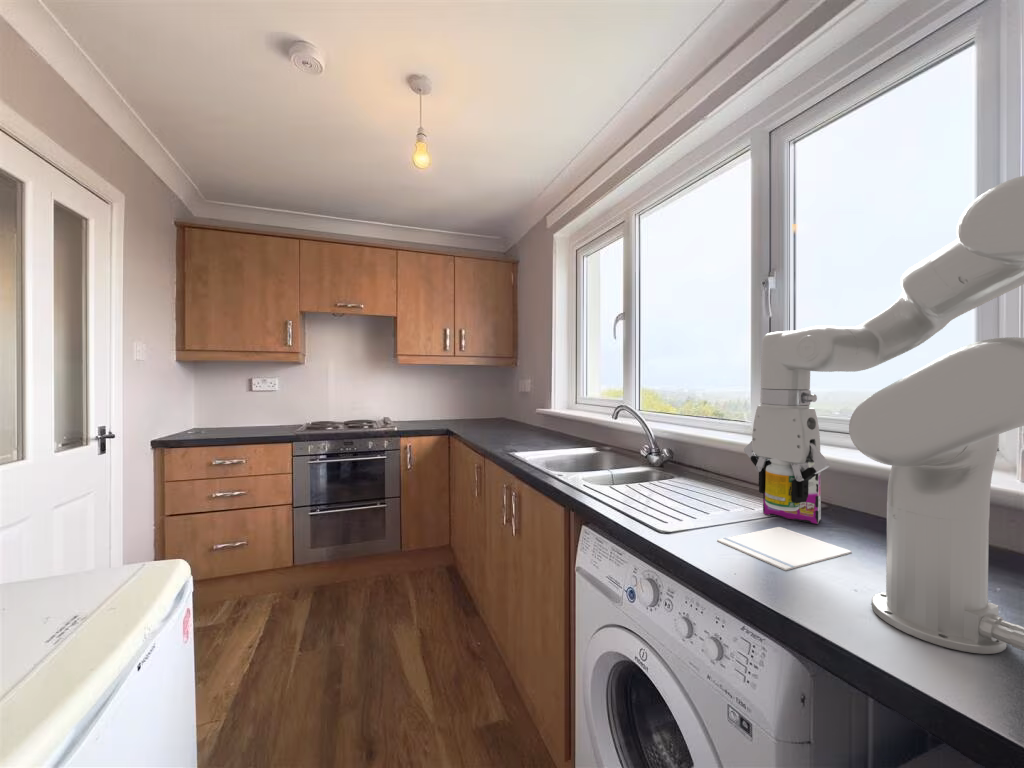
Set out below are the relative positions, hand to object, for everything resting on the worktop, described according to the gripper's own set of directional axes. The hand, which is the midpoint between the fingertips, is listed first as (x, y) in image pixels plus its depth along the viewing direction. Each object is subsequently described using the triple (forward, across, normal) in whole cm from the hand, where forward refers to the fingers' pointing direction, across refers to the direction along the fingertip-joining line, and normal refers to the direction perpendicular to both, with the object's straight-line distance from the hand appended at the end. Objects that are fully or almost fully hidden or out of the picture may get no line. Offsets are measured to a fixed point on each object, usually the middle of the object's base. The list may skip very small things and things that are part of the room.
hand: (782, 496), depth 75 cm
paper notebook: (+12, +3, -6) cm, 13 cm away
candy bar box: (+12, +14, -25) cm, 31 cm away
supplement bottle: (+2, 0, 0) cm, 2 cm away
